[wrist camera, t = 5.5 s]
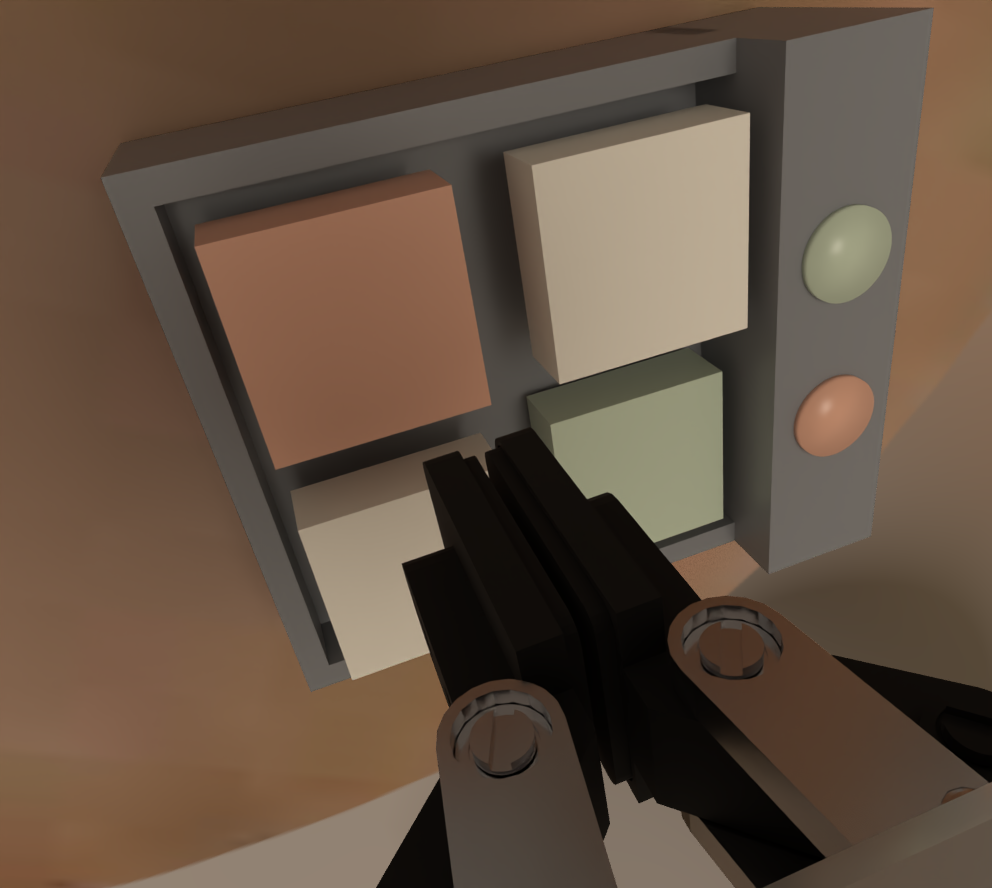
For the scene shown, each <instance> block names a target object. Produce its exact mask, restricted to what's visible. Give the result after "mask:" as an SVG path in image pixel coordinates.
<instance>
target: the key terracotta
mask: <svg viewBox="0 0 992 888" xmlns="http://www.w3.org/2000/svg"><path fill="white" fill-rule="evenodd" d="M194 247H195V250H196V253H197V256H198V258H199V261H200V264H201V267H202V269H203V272H204V275H205V277H206V280H207V283H208V286H209V288H210V291H211V294H212V297H213V299H214V302H215V305H216V308H217V310H218V313H219V316H220V319H221V321H222V324H223V327H224V330H225V332H226V335H227V338H228V341H229V343H230V346H231V349H232V352H233V354H234V357H235V360H236V362H237V365H238V368H239V371H240V373H241V376H242V379H243V382H244V384H245V387H246V390H247V393H248V395H249V398H250V401H251V404H252V406H253V409H254V412H255V415H256V417H257V420H258V423H259V426H260V428H261V431H262V434H263V437H264V439H265V442H266V445H267V447H268V450H269V453H270V456H271V458H272V461H273V464H274V467H275V469H276V470H277V469H280V468H283V467H287V466H290V465H293V464H297V463H300V462H303V461H307V460H310V459H313V458H317V457H320V456H323V455H327V454H330V453H333V452H337V451H340V450H343V449H347V448H350V447H353V446H357V445H360V444H363V443H367V442H370V441H373V440H377V439H380V438H383V437H387V436H390V435H393V434H396V433H400V432H403V431H406V430H410V429H413V428H416V427H420V426H423V425H426V424H430V423H433V422H436V421H440V420H443V419H446V418H450V417H453V416H456V415H460V414H463V413H466V412H470V411H473V410H476V409H480V408H483V407H486V406H490V405H491V399H490V394H489V388H488V383H487V377H486V372H485V366H484V361H483V355H482V350H481V344H480V339H479V333H478V328H477V322H476V317H475V311H474V306H473V300H472V295H471V289H470V284H469V278H468V273H467V267H466V262H465V256H464V251H463V245H462V240H461V235H460V229H459V224H458V218H457V213H456V207H455V202H454V196H453V191H452V185H451V184H450V183H448V182H447V181H445V180H444V179H442V178H441V177H440V176H438V175H437V174H435V173H434V172H433V171H431V170H430V169H428V170H424V171H420V172H416V173H412V174H407V175H403V176H399V177H395V178H390V179H386V180H382V181H378V182H373V183H369V184H365V185H361V186H356V187H352V188H348V189H344V190H340V191H335V192H331V193H327V194H323V195H318V196H314V197H310V198H306V199H301V200H297V201H293V202H289V203H285V204H280V205H276V206H272V207H268V208H263V209H259V210H255V211H251V212H246V213H242V214H238V215H234V216H230V217H225V218H221V219H217V220H213V221H208V222H204V223H200V224H196V225H195V239H194Z"/></svg>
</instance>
